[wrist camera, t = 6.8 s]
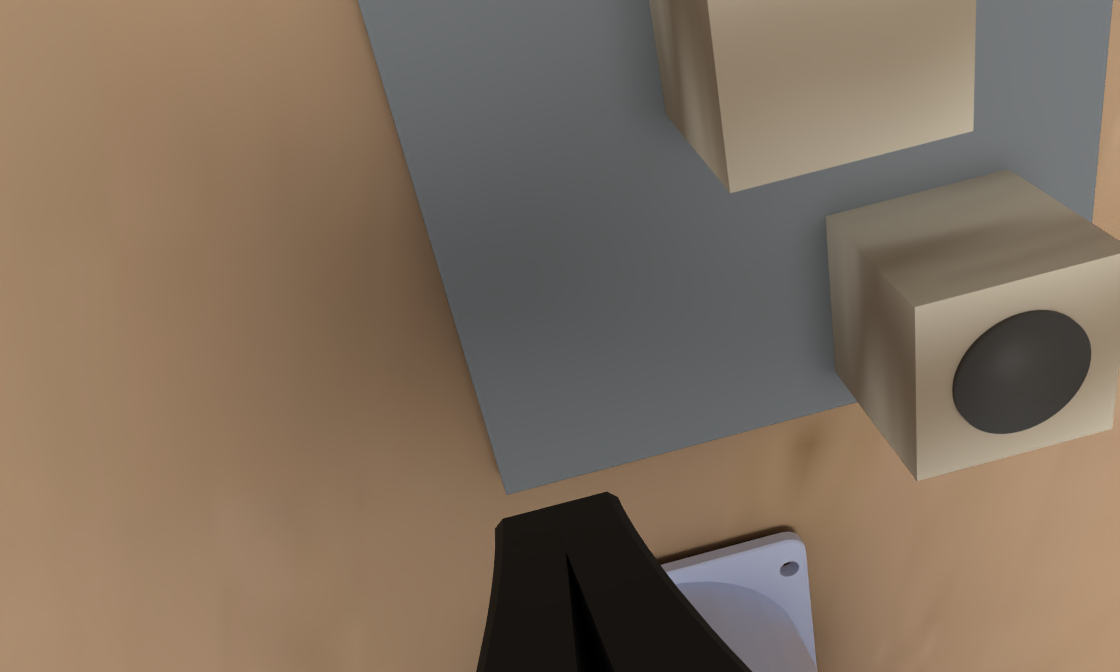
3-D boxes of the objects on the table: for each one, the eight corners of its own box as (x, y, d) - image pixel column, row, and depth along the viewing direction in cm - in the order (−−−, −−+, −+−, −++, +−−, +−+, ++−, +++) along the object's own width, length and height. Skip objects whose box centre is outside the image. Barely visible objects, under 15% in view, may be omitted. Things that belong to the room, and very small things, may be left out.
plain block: (866, 64, 19) (973, 131, 16) (666, 114, 19) (730, 193, 16) (857, -163, 17) (979, -144, 14) (632, -108, 17) (698, -74, 13)
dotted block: (1002, 328, 23) (1116, 433, 19) (835, 372, 23) (920, 486, 19) (1008, 168, 21) (1138, 253, 17) (825, 216, 21) (919, 311, 17)
